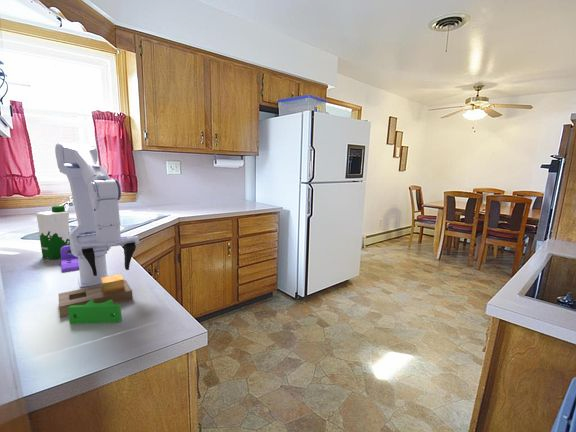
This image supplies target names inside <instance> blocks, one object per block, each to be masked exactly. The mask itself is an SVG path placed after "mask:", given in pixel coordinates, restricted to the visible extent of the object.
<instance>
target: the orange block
mask: <svg viewBox="0 0 576 432" xmlns="http://www.w3.org/2000/svg"><path fill="white" fill-rule="evenodd" d="M124 280H125V279H124V277H123V275H122V274H121V273H119V274H113V275H108V276H106V277H101V284H100V285H101V287H102V290H103V293H104V294H106V293H110V292H115V291H120V290H124V289H125V286H124Z"/></svg>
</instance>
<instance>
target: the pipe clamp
mask: <svg viewBox="0 0 576 432" xmlns="http://www.w3.org/2000/svg"><path fill="white" fill-rule="evenodd" d="M121 308H122V307H121V303H118V304H113V300H108V301H106V302H103V303H94V300H90V301H89V302H87V303H86V304H85V305H71V306H69V307H68V312H69V316H68V318H69V320H68V321H69V324H70V325H72V324H73V325H75V324H76V325H77V324H104V323H105V324H107V323H120V322H121V321H122V320H123V319H122V309H121Z"/></svg>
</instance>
